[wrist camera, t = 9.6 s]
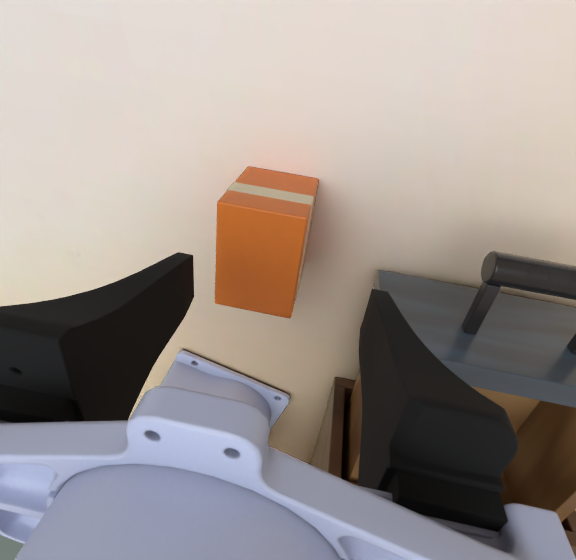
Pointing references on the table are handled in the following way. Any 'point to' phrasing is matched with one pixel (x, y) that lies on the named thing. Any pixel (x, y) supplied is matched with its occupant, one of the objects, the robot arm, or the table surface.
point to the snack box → (263, 240)
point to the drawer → (501, 366)
